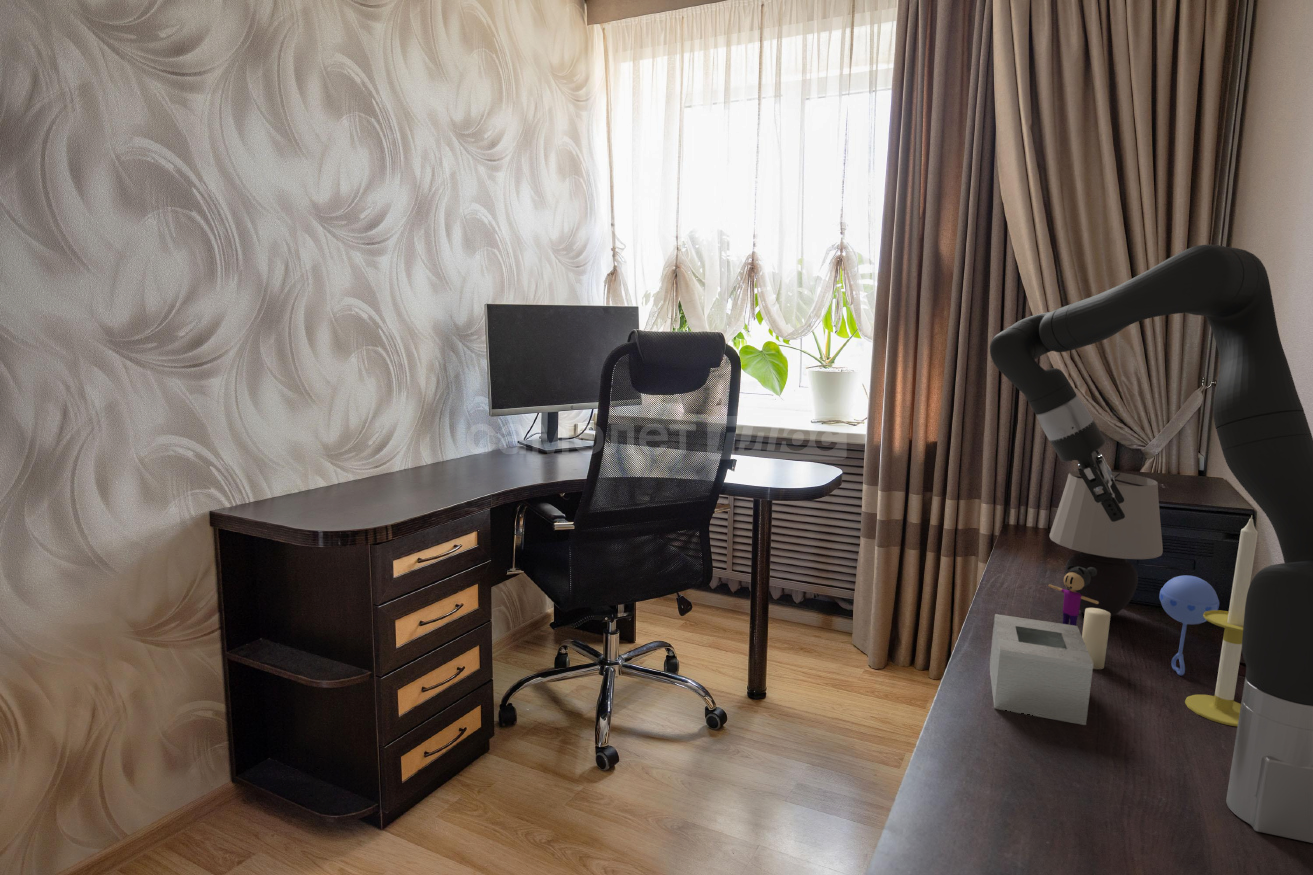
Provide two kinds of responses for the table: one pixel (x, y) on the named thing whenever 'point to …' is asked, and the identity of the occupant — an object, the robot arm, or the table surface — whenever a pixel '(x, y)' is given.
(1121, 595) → the table lamp
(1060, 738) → the table surface
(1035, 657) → the white hollow block
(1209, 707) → the candle
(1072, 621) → the toy
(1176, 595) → the baby rattle
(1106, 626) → the capsule
